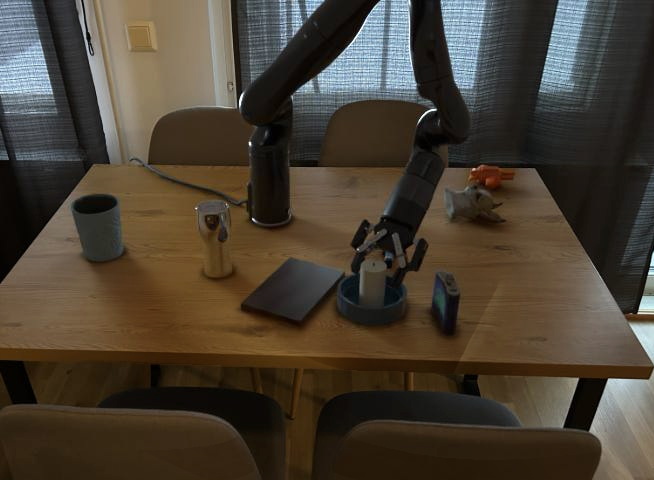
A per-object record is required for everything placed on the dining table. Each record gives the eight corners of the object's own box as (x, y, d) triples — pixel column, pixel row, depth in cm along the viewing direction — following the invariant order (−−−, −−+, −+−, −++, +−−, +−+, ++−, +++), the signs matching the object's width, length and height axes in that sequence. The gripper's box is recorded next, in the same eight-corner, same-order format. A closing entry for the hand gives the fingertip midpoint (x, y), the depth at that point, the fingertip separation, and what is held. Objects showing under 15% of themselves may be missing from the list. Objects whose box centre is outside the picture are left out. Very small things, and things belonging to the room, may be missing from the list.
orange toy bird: (514, 161, 171) (468, 160, 171) (519, 180, 166) (472, 179, 166) (509, 175, 175) (465, 175, 175) (514, 194, 170) (468, 194, 170)
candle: (354, 308, 124) (356, 265, 118) (364, 296, 127) (367, 254, 122) (377, 315, 122) (381, 271, 117) (387, 302, 125) (390, 260, 120)
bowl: (325, 315, 123) (326, 297, 120) (353, 282, 132) (354, 265, 130) (390, 334, 117) (392, 316, 115) (414, 298, 127) (416, 281, 125)
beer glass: (239, 265, 138) (235, 201, 130) (226, 281, 133) (220, 216, 124) (210, 260, 140) (204, 197, 131) (196, 276, 134) (188, 211, 126)
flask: (428, 308, 124) (434, 261, 118) (443, 307, 124) (450, 259, 118) (443, 337, 117) (451, 288, 110) (459, 336, 117) (467, 286, 111)
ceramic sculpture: (445, 173, 156) (508, 180, 155) (439, 205, 161) (499, 212, 160) (446, 191, 148) (512, 199, 146) (439, 225, 153) (503, 233, 151)
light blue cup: (98, 238, 148) (88, 190, 142) (136, 245, 146) (128, 196, 139) (71, 259, 141) (60, 209, 134) (111, 267, 138) (101, 216, 131)
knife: (390, 279, 130) (393, 259, 128) (376, 278, 131) (377, 258, 129) (403, 226, 157) (405, 209, 155) (391, 225, 157) (392, 207, 155)
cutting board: (240, 309, 124) (240, 303, 123) (290, 262, 139) (290, 256, 138) (300, 327, 119) (300, 321, 118) (345, 277, 134) (345, 271, 133)
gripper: (370, 186, 123) (334, 262, 122) (437, 205, 115) (399, 286, 114) (383, 201, 129) (349, 274, 128) (447, 221, 122) (411, 298, 121)
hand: (372, 280), depth 121 cm, fingers open, 8 cm apart
